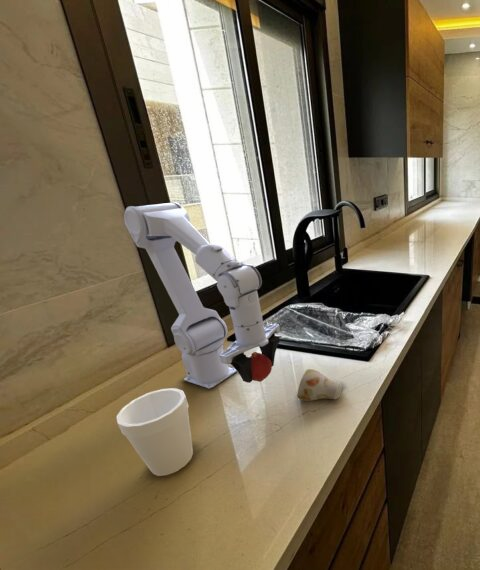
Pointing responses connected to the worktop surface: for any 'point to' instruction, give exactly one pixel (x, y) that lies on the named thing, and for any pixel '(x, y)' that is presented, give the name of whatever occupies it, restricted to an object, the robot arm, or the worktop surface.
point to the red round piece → (260, 366)
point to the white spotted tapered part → (317, 386)
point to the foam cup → (159, 429)
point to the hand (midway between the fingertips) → (258, 372)
